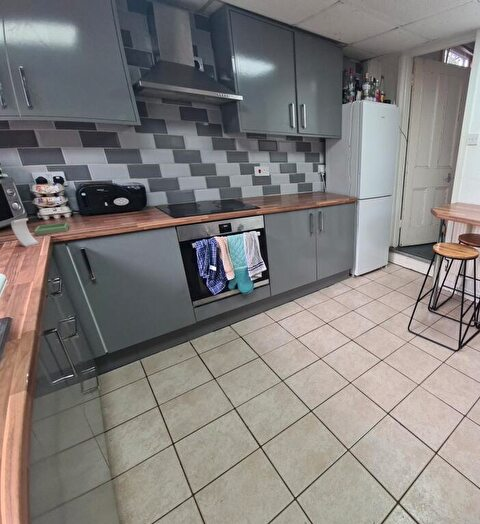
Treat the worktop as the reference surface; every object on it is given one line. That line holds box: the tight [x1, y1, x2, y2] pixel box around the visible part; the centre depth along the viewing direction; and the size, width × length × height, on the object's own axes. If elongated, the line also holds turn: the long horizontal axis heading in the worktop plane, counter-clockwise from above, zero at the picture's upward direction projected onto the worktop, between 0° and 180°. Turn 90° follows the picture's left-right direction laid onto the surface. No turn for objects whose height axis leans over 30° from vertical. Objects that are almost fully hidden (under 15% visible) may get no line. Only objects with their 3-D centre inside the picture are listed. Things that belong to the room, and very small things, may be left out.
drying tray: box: [33, 221, 70, 236], centre depth 152 cm, size 12×12×2 cm
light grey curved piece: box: [10, 217, 40, 247], centre depth 131 cm, size 5×6×12 cm
